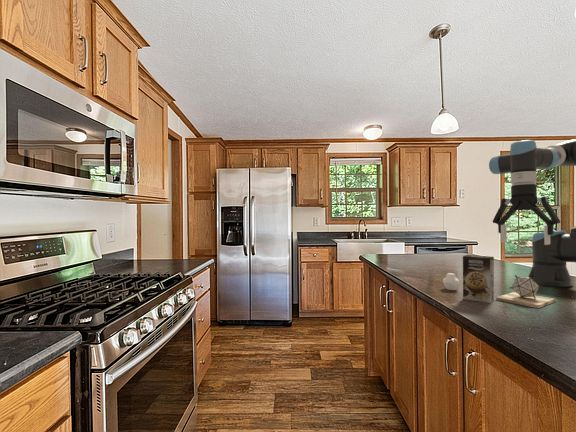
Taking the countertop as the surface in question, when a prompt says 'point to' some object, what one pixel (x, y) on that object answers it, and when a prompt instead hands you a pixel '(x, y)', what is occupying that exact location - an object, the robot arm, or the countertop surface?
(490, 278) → the cookie box
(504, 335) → the countertop surface
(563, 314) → the countertop surface
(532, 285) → the wireframe polyhedron
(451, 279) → the white knobbed ball
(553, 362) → the countertop surface
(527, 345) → the countertop surface
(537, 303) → the birch board
